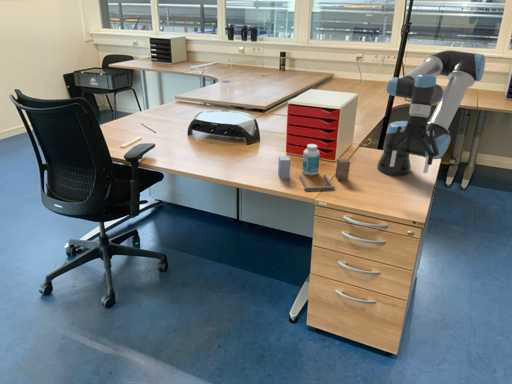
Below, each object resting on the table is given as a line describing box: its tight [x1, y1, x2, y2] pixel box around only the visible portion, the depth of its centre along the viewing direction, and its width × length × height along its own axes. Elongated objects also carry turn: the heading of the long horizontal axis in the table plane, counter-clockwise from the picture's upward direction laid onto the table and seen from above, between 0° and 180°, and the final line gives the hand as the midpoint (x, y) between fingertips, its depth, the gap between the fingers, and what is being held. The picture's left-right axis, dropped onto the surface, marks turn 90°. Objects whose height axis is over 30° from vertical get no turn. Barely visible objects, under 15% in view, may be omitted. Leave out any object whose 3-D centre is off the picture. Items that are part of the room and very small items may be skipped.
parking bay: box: [299, 174, 336, 192], centre depth 187 cm, size 13×13×1 cm
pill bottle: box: [301, 143, 321, 177], centre depth 194 cm, size 8×7×14 cm
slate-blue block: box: [277, 155, 292, 180], centre depth 191 cm, size 4×4×9 cm
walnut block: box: [334, 157, 351, 182], centre depth 190 cm, size 4×4×9 cm
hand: (408, 169), depth 169 cm, fingers open, 13 cm apart
